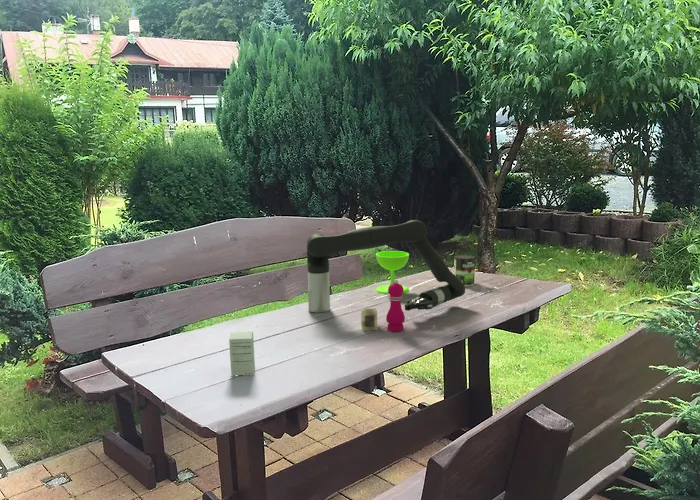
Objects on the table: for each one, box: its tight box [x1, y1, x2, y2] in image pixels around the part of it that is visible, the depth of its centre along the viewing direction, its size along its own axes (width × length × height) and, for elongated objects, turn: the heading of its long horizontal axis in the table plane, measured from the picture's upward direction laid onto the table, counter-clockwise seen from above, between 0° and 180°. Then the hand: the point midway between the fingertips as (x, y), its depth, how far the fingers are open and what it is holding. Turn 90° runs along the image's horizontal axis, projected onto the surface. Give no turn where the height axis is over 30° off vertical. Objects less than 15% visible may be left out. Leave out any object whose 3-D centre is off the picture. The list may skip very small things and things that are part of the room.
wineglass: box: [375, 250, 410, 295], centre depth 297 cm, size 16×16×18 cm
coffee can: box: [453, 254, 476, 287], centre depth 308 cm, size 10×10×14 cm
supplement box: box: [228, 330, 256, 376], centre depth 200 cm, size 7×7×13 cm
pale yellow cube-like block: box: [360, 308, 378, 331], centre depth 243 cm, size 6×6×7 cm
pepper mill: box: [385, 279, 406, 333], centre depth 239 cm, size 7×7×20 cm
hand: (406, 307), depth 245 cm, fingers closed
